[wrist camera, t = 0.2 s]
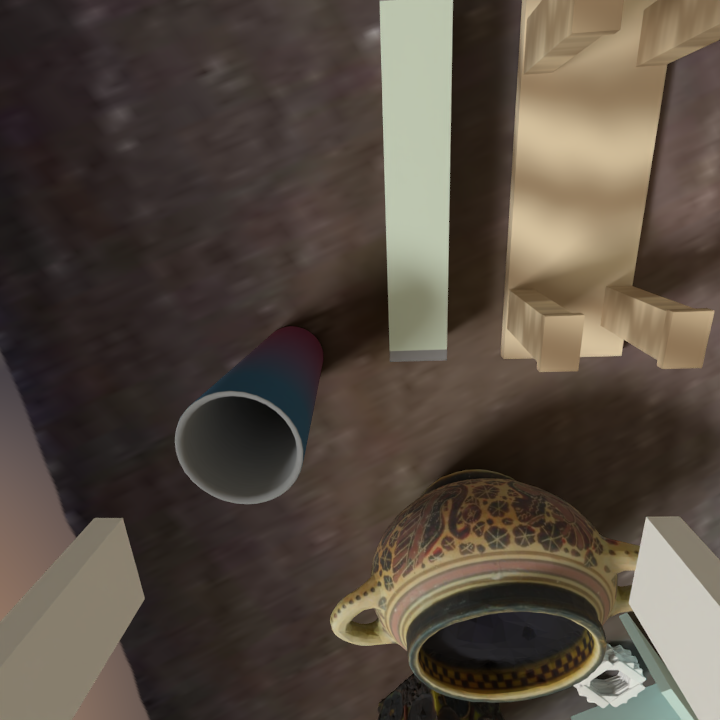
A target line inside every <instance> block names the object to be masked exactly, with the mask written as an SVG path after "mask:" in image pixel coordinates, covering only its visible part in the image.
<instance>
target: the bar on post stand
mask: <svg viewBox="0 0 720 720" xmlns="http://www.w3.org/2000/svg"><path fill="white" fill-rule="evenodd" d="M718 40H720V0H522V11H521V28H520V44H519V61H518V77H517V94H516V110H515V127H514V143H513V160H512V176H511V193H510V209H509V226H508V242H507V259H506V275H505V292H504V308H503V325H502V341H501V356H502V357H503V359H523V358H534V359H535V360H536V361H537V369H538V370H539V371H540V372H560V371H578V367H579V359H580V357H594V356H621V355H622V348H623V342H624V340H625V341H627V342H628V343H630V344H632V345H633V346H635V347H637V348H638V349H640V350H642V351H643V352H645V353H647V354H648V355H650V356H652V357H653V358H655V359H657V360H658V361H657V366H659V367H660V368H662V369H675V368H702V365H703V360H704V356H705V351H706V347H707V343H708V338H709V334H710V329H711V325H712V320H713V316H714V310H711V309H708V308H700V309H694V308H691V307H688V306H686V305H683V304H680V303H677V302H675V301H672V300H669V299H666V298H664V297H661V296H658V295H656V294H653V293H650V292H647V291H645V290H642V289H639V288H636V287H634V286H632V285H633V279H634V272H635V266H636V260H637V253H638V247H639V241H640V234H641V228H642V222H643V215H644V209H645V203H646V196H647V190H648V184H649V177H650V171H651V165H652V158H653V152H654V146H655V139H656V133H657V127H658V120H659V114H660V108H661V101H662V95H663V89H664V82H665V76H666V70H667V64H669V63H671V62H673V61H675V60H677V59H679V58H681V57H684V56H686V55H688V54H690V53H692V52H694V51H696V50H699V49H701V48H703V47H705V46H707V45H709V44H711V43H714V42H716V41H718Z"/></svg>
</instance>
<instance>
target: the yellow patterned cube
mask: <svg viewBox="0 0 720 720" xmlns="http://www.w3.org/2000/svg"><path fill="white" fill-rule="evenodd" d="M378 714H379V717H378V720H504V717H503V715H502V713H501V711H500V706H499V703H489V702H471V701H466V700H460V699H455V698H452V697H448V696H445V695H442V694H439V693H437V692H436V691H434V690H432V689H431V688H429V687H428V686H426V685H425V684H424V683H423V682H421V681H420V680H419V679H418V678H417V676H416V675H415V674H414V675H412V676H410V677H409V678H408V680H406V681H405V682H403V683H402V685H400V686H399V687H398V688H397V689H396V690H395V691H394V692H393V693H391V694H390V695H388V696H387V697H386V698H385V700H383V701H381V702H380V703H379V707H378Z"/></svg>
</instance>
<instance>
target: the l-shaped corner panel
mask: <svg viewBox="0 0 720 720" xmlns="http://www.w3.org/2000/svg"><path fill="white" fill-rule="evenodd" d="M619 617H620V619H621V621H622V623H623V625H624V626H625V628H626V630H627V632H628V634H629V635H630V637H631V639H632V641H633V643H634V644H635V646H636V648H637V650H638V652H639V653H640V655H641V657H642V659H643V661H644V662H645V664H646V666H647V668H648V670H649V671H650V673H651V675H652V677H653V679H654V680H655V682H656V684H654V685H651V686H649V687H646V688H645V687H644V686H643V684H642V682H644V681H645V680H646V678H645V677H644V676H643V673H642V671H643V670H642V669H641V668H639V664H637V663H638V660H637V658H636V657H635V656H631V651H630V650H626V649H623V647H622V646H621V645H618V646H616V647H614V648H613V647H611V646H610V644H607V647H606V652H605V656H604V659H603V661H602V663H601V664H600V666H599V667H598V668H597V669H596V670H595V672H593V673H591V674H590V676H589V677H588V678H586V679H585V680H583V681H581V682H580V683H578V684H575V685H573V686H574V687H575V688H577V691H578V692H579V695H580V696H586V697H587V701H588V702H593V703H596V704H597V705H598V706H597V707H594V708H592V709H589V710H587V711H584V712H581V713H579V714H576V715H574V716H571V719H572V720H698V718H697V716H696V715H695V713H694V711H693V710H692V708H691V706H690V705H689V703H688V701H687V700H686V698H685V696H684V695H683V693H682V691H681V690H680V688H679V686H678V685H677V683H676V681H675V680H674V678H673V676H672V675H671V673H670V671H669V670H668V668H667V667H666V666H665V664H664V663H663V662H662V660H661V659H660V657H659V656H658V655H657V653H656V652H655V650H654V649H653V648H652V646H651V645H650V644H649V642H648V641H647V639H646V638H645V637H644V635H643V634H642V633H641V631H640V630H639V628H638V627H637V626H636V624H635V623H634V621H633V620H632V619H631V617H630V616H629V615H628V613H625V614H623V615H621V616H619ZM606 670H619V673H618V675H616V676H614V677H611V678H608V679H605V680H602V679H594V678H596V677H597V676H599V675H600V674H602V673H603V672H605V671H606Z"/></svg>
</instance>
